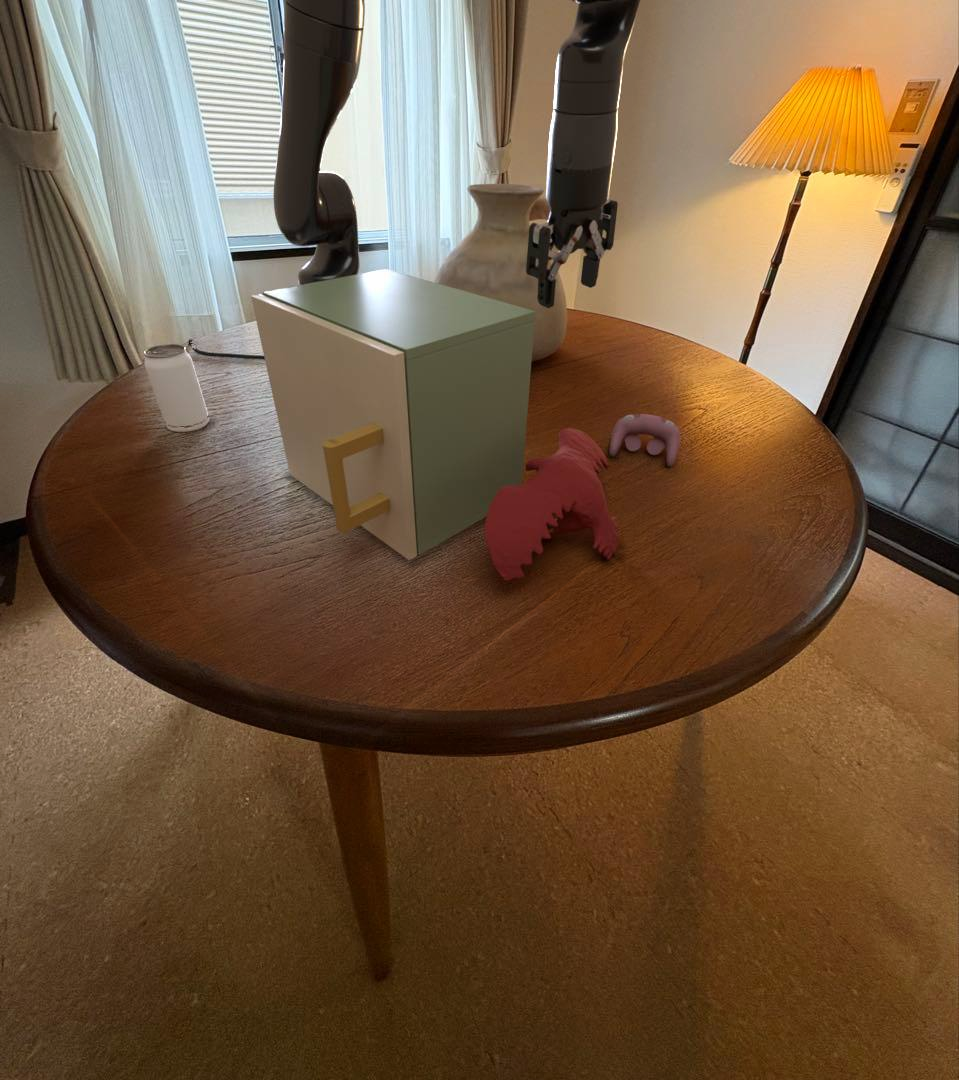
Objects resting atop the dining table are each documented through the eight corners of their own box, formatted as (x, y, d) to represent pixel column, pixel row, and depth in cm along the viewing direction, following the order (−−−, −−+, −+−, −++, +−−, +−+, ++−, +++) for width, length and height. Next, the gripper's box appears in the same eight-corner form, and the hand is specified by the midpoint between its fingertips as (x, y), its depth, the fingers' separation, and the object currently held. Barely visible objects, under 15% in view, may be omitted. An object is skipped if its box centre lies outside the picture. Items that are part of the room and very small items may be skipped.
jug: (398, 359, 115) (387, 187, 96) (484, 318, 138) (488, 173, 119) (522, 391, 103) (535, 202, 85) (593, 341, 126) (616, 184, 108)
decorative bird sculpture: (612, 514, 80) (554, 426, 77) (669, 491, 73) (609, 394, 71) (522, 643, 60) (441, 531, 58) (589, 626, 54) (502, 500, 51)
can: (195, 435, 87) (170, 359, 80) (157, 431, 88) (130, 355, 81) (218, 418, 92) (197, 345, 85) (183, 414, 93) (159, 341, 86)
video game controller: (673, 466, 85) (684, 420, 84) (674, 467, 81) (686, 419, 79) (608, 455, 88) (617, 410, 86) (606, 455, 83) (616, 408, 82)
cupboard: (418, 556, 65) (406, 349, 50) (299, 471, 79) (262, 292, 64) (521, 496, 75) (535, 311, 61) (399, 431, 89) (386, 268, 75)
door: (363, 586, 60) (332, 373, 46) (247, 491, 75) (195, 306, 60) (417, 555, 65) (404, 352, 50) (297, 471, 79) (260, 293, 64)
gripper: (595, 138, 70) (581, 271, 82) (513, 163, 63) (510, 303, 76) (645, 149, 66) (622, 287, 78) (563, 177, 60) (551, 322, 72)
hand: (567, 295), depth 77 cm, fingers open, 8 cm apart
